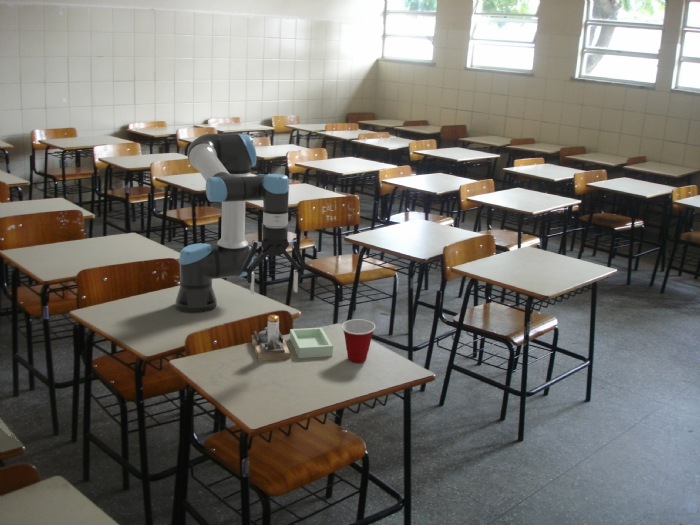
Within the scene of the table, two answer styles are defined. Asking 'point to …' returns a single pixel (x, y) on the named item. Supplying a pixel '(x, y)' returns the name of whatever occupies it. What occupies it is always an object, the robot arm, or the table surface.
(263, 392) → the table surface
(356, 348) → the plastic cup
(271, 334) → the glass bottle
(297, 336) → the tray
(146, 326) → the table surface
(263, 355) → the pulley block
